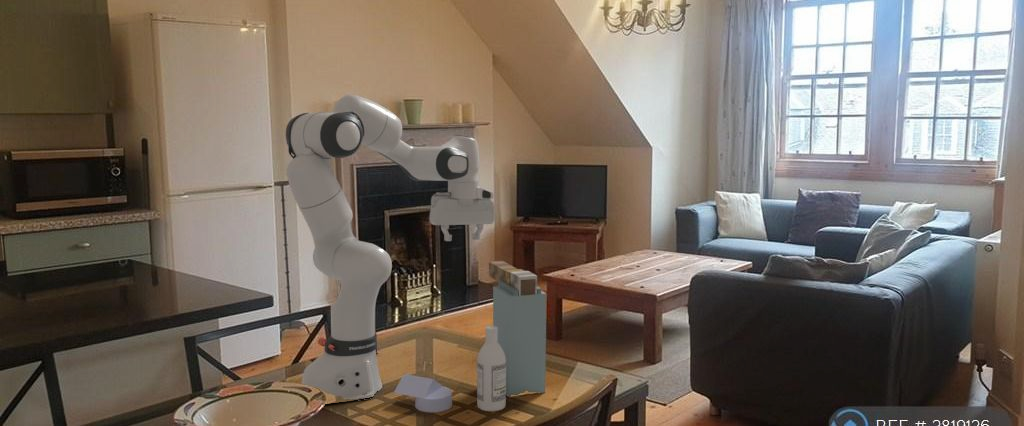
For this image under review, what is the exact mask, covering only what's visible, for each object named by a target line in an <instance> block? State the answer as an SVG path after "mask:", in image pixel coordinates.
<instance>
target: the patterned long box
mask: <svg viewBox="0 0 1024 426" xmlns="http://www.w3.org/2000/svg"><path fill="white" fill-rule="evenodd" d="M488 276H489V277H490V278H492V279H493V280H495V281H497V282H498V281H499V280H502V281H504V282H505V283H507V284H509V285H510V286H512V287H513V288H515V289H517V290H518V296H524V295H536V294H537V286H538V275H536V274H535V273H533V272H531V271H529V270H524V269H522V268H516V267H514V266H513V265H511V264H509V263H507V262H505V261H503V260H495V261H489V262H488Z"/></svg>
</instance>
